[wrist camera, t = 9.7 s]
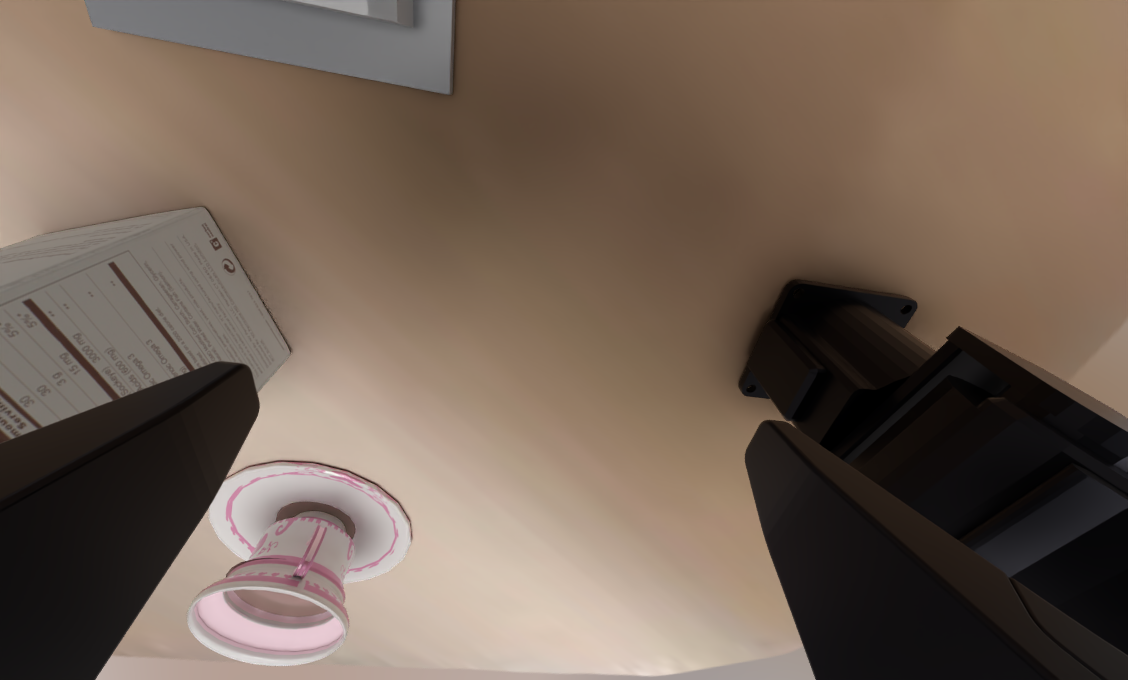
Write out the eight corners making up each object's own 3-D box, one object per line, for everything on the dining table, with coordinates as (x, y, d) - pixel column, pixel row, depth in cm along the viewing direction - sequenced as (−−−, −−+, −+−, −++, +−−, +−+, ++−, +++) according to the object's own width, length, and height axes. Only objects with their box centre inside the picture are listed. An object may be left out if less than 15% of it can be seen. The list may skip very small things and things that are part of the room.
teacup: (373, 592, 32) (340, 693, 27) (196, 544, 28) (117, 651, 23) (444, 501, 27) (420, 604, 22) (239, 428, 23) (151, 531, 18)
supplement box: (154, 377, 21) (-243, 688, 10) (36, 230, 17) (-787, 486, 7) (299, 355, 21) (43, 652, 10) (211, 201, 17) (-351, 420, 6)
